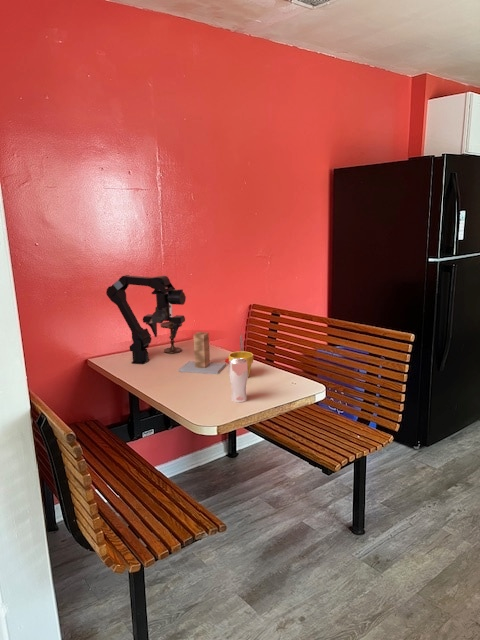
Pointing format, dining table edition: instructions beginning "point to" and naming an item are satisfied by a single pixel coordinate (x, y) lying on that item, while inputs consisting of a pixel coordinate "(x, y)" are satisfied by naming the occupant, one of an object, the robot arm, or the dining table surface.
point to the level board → (211, 369)
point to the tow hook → (241, 347)
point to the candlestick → (169, 325)
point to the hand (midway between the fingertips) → (165, 337)
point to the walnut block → (201, 350)
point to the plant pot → (244, 355)
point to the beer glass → (238, 379)
